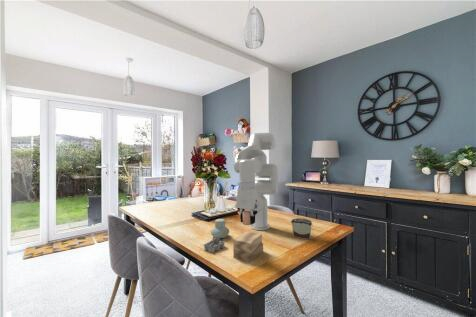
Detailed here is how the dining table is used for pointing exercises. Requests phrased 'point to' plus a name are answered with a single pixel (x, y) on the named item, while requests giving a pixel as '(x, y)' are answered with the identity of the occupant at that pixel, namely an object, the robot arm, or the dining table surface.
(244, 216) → the pink rounded capsule
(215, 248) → the egg carton
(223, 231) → the air freshener
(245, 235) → the tower top
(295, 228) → the food container
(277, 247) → the dining table surface
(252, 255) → the tower base
